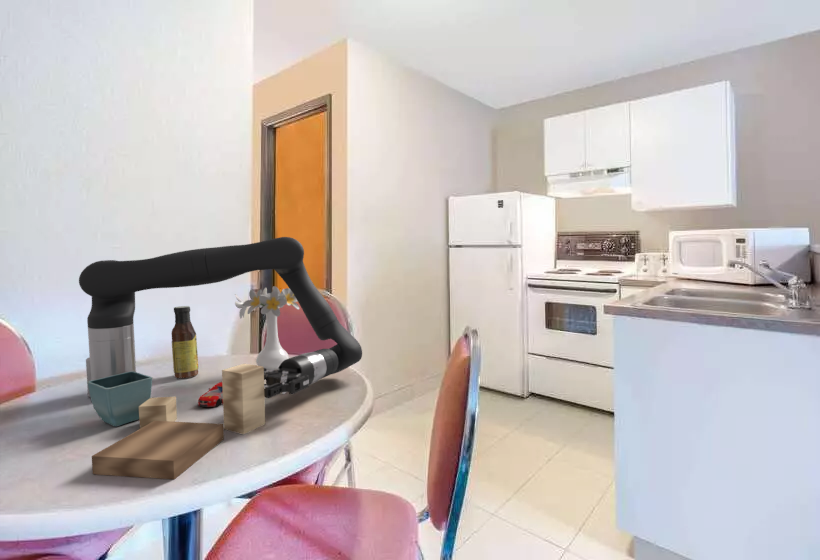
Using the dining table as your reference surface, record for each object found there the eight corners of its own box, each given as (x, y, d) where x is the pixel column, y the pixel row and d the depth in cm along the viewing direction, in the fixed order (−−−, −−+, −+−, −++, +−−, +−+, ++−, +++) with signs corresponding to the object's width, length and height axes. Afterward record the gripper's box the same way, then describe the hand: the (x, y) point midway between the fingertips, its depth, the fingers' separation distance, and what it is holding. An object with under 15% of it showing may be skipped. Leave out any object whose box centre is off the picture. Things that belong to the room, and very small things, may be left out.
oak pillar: (223, 429, 84) (221, 370, 83) (245, 419, 89) (244, 363, 88) (243, 434, 82) (241, 373, 81) (265, 424, 87) (263, 366, 86)
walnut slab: (92, 474, 67) (91, 456, 67) (155, 435, 81) (154, 420, 81) (174, 479, 66) (173, 460, 66) (223, 439, 80) (223, 423, 79)
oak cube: (139, 431, 84) (138, 406, 83) (151, 421, 89) (150, 397, 88) (167, 429, 84) (165, 405, 84) (177, 419, 89) (175, 396, 89)
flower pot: (108, 433, 82) (106, 388, 82) (88, 423, 87) (86, 381, 86) (155, 418, 90) (153, 376, 89) (134, 410, 95) (132, 370, 94)
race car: (211, 411, 94) (211, 394, 94) (192, 408, 96) (191, 391, 96) (251, 392, 107) (250, 376, 107) (233, 390, 109) (232, 374, 108)
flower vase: (236, 369, 127) (233, 286, 125) (299, 362, 134) (297, 284, 132) (237, 381, 115) (234, 290, 113) (306, 373, 122) (304, 287, 120)
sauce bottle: (203, 375, 121) (200, 306, 120) (181, 380, 116) (178, 308, 114) (190, 371, 124) (187, 304, 123) (168, 377, 119) (165, 307, 118)
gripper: (280, 351, 104) (225, 368, 89) (327, 358, 98) (276, 376, 83) (280, 381, 104) (226, 402, 90) (327, 390, 98) (276, 414, 84)
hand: (250, 390), depth 87 cm, fingers open, 8 cm apart
